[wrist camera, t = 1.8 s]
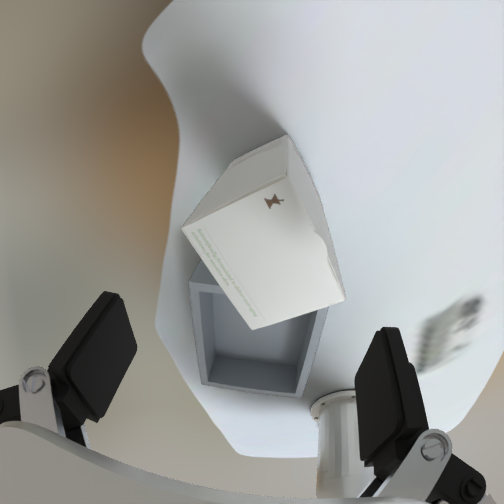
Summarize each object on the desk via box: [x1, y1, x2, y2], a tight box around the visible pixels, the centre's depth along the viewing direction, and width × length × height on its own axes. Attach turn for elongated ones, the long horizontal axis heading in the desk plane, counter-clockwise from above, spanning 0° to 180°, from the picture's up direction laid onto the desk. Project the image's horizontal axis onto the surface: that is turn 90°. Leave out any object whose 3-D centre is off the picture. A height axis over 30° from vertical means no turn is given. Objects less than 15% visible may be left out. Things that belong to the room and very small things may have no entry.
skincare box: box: [181, 135, 346, 330], centre depth 22 cm, size 8×7×16 cm
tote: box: [189, 259, 329, 398], centre depth 35 cm, size 18×14×6 cm
